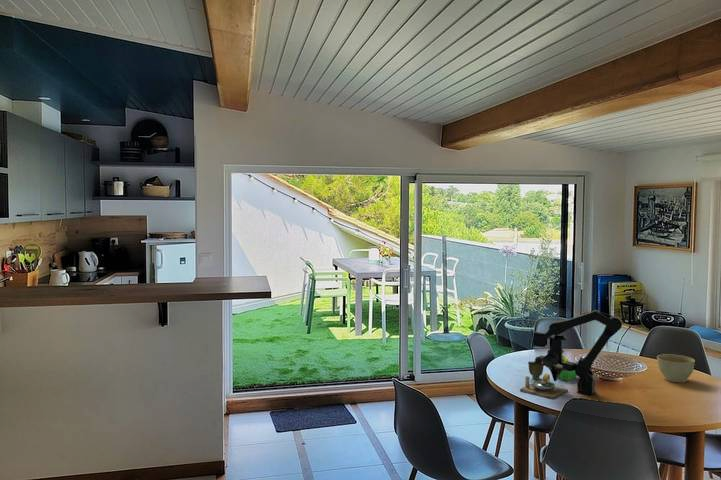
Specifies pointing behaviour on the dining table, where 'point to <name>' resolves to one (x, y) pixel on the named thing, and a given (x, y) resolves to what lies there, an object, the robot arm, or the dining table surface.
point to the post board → (544, 391)
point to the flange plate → (544, 386)
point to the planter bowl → (675, 367)
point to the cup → (535, 369)
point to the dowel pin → (527, 381)
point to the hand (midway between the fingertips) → (555, 381)
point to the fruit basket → (566, 372)
